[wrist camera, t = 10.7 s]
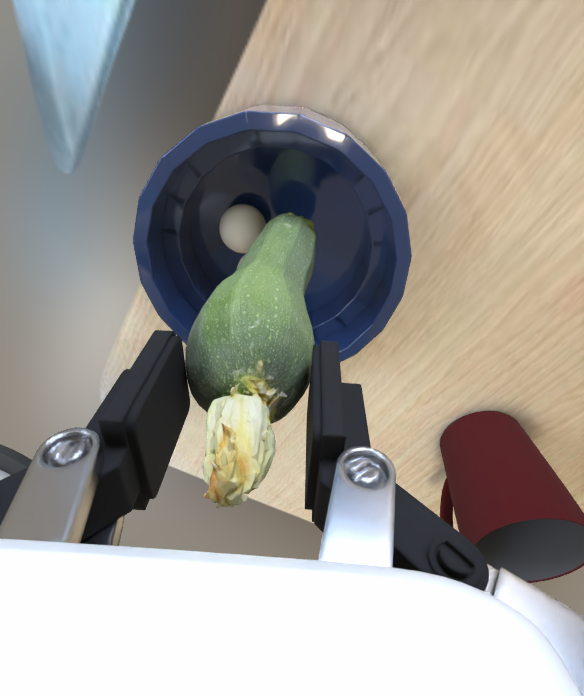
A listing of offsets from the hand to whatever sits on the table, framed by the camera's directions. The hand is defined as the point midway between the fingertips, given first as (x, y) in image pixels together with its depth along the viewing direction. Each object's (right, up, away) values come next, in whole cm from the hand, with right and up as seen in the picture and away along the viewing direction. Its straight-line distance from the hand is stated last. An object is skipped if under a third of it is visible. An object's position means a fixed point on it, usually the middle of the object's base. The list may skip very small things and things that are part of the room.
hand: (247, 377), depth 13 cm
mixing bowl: (0, +9, +15) cm, 17 cm away
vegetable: (+1, +8, +12) cm, 15 cm away
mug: (+19, -9, +26) cm, 33 cm away
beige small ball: (-2, +8, +13) cm, 15 cm away
